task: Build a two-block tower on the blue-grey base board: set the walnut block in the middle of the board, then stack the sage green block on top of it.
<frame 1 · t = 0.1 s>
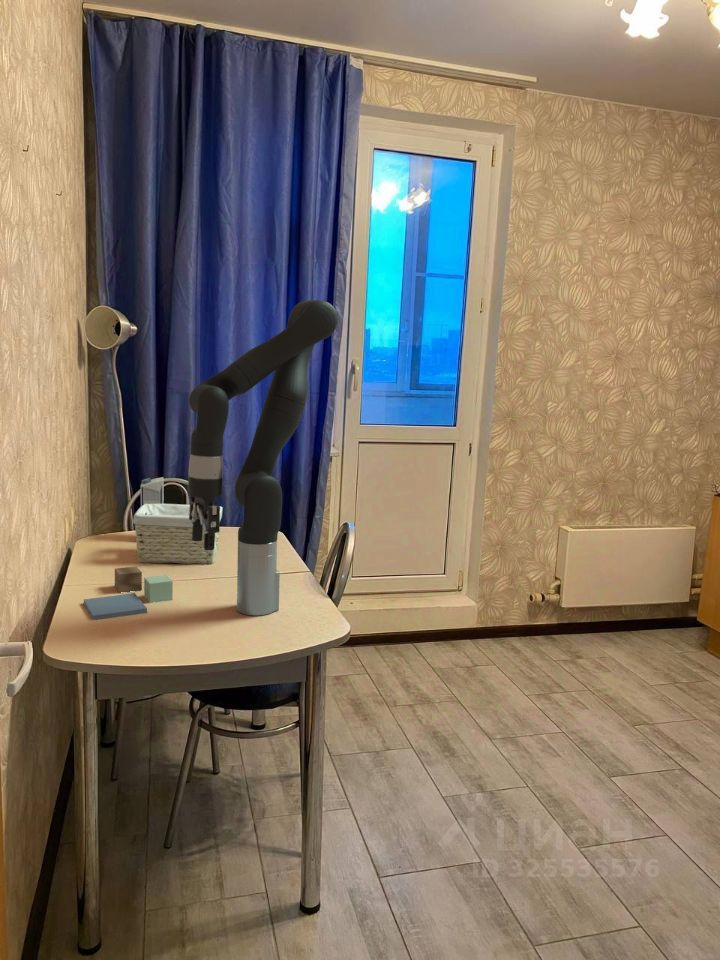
hand: (202, 545, 168), 17 cm above the table, tool pointing down, fingers open, 8 cm apart
storage basket: (179, 558, 218), on the table
walnut block: (128, 589, 188), on the table
base board: (115, 607, 174), on the table
sage green block: (158, 598, 182), on the table
milk carton: (152, 540, 237), on the table
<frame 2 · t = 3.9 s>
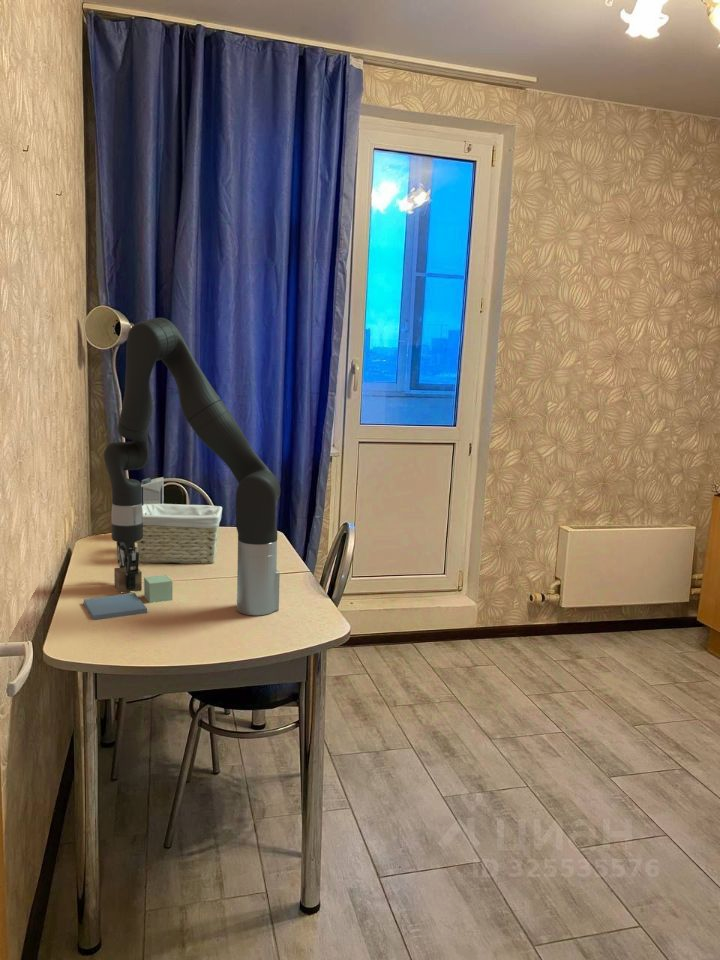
hand: (127, 585, 188), 1 cm above the table, tool pointing down, fingers closed on walnut block, 5 cm apart
walnut block: (128, 588, 188), on the table, touching gripper
everything else where it was.
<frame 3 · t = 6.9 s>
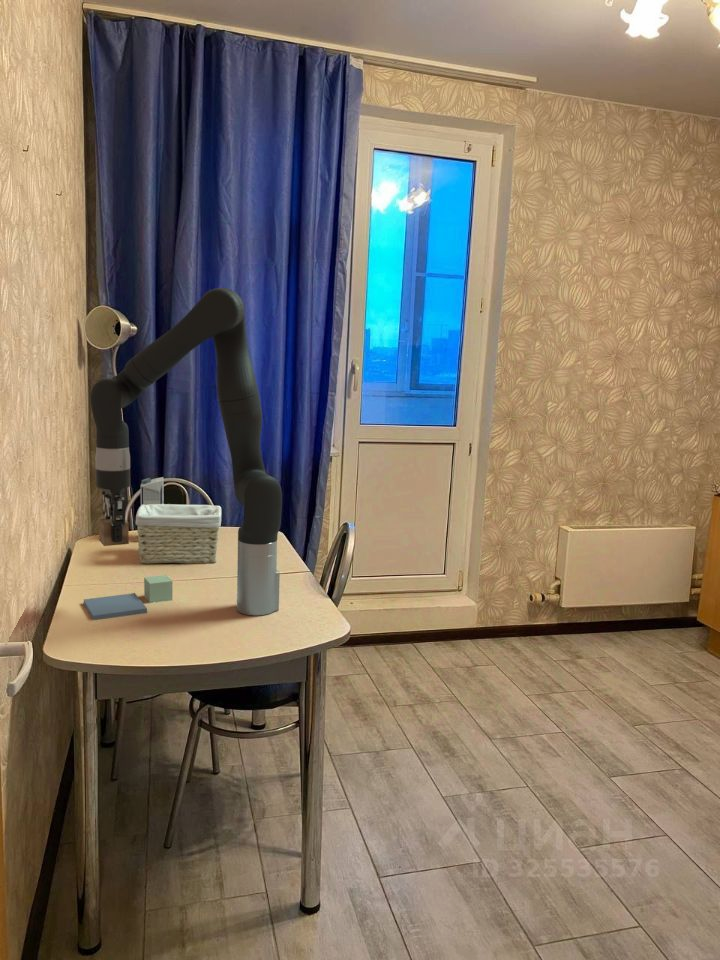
hand: (114, 538, 171), 17 cm above the table, tool pointing down, fingers closed on walnut block, 5 cm apart
walnut block: (113, 542, 172), point 16 cm above the table, touching gripper
when the fingers open (3 cm above the table, at t = 9.9 s): walnut block stays where it is, resting on base board.
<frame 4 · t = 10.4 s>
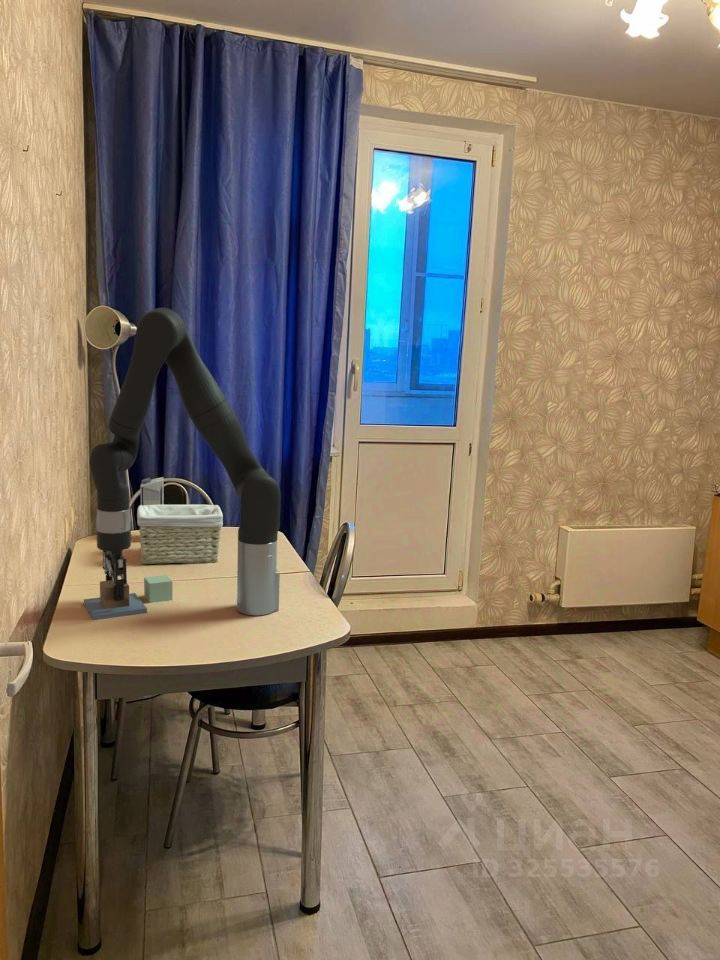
hand: (114, 594, 174), 3 cm above the table, tool pointing down, fingers open, 8 cm apart
walnut block: (114, 603, 174), point 1 cm above the table, touching base board
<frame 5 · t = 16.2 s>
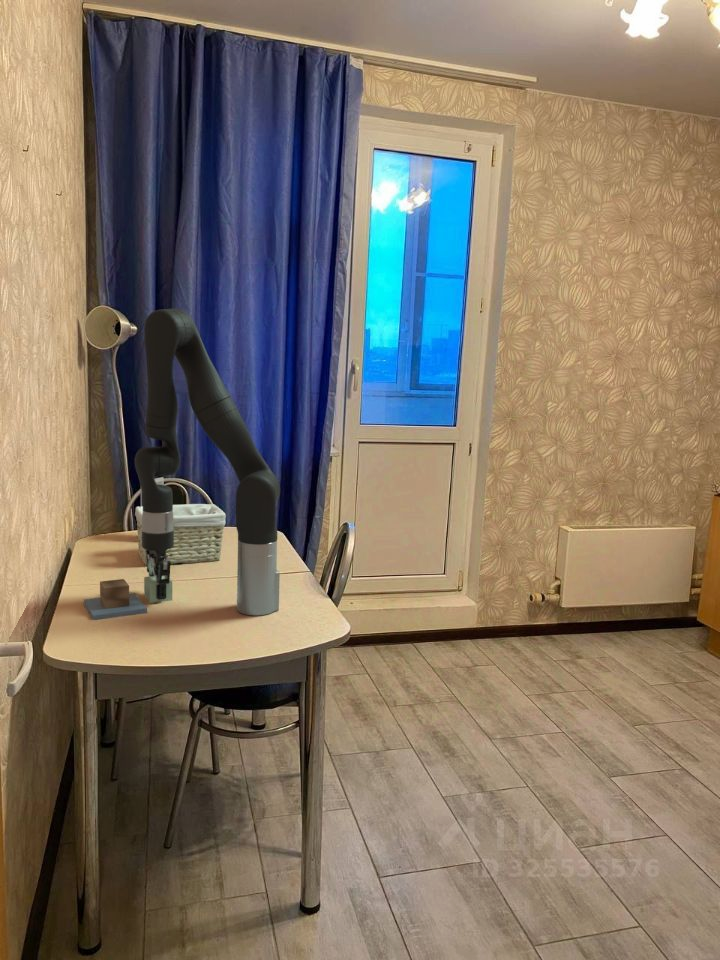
hand: (158, 594, 182), 1 cm above the table, tool pointing down, fingers closed on sage green block, 5 cm apart
sage green block: (158, 598, 182), on the table, touching gripper
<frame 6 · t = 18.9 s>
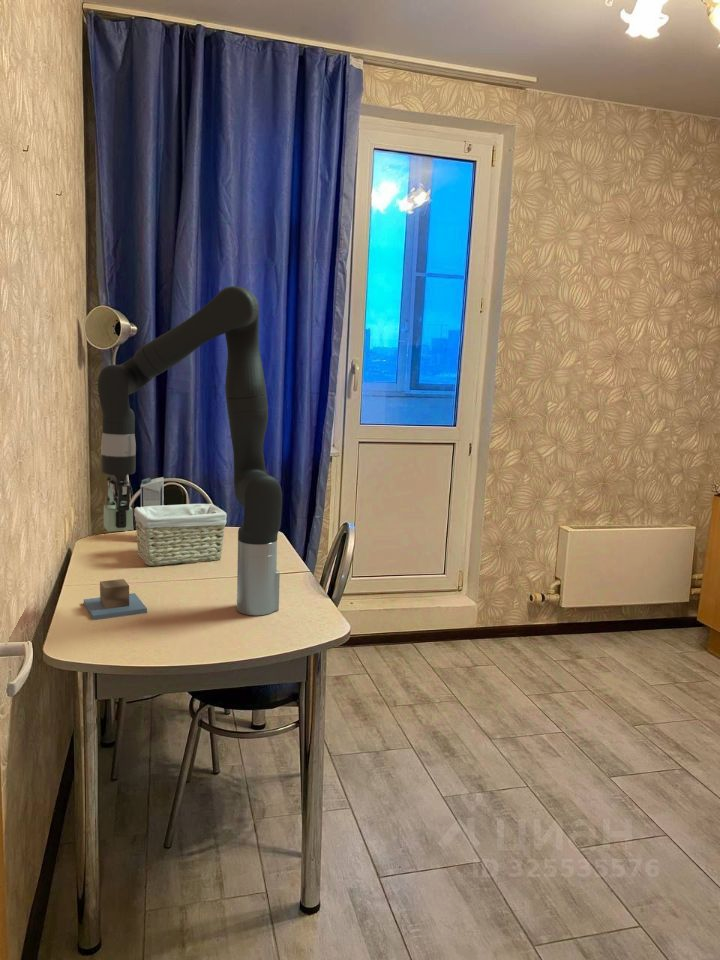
hand: (118, 524, 172), 20 cm above the table, tool pointing down, fingers closed on sage green block, 5 cm apart
sage green block: (118, 528, 172), point 19 cm above the table, touching gripper
when the fingers open (8 cm above the table, at t = 21.8 s): sage green block stays where it is, resting on walnut block.
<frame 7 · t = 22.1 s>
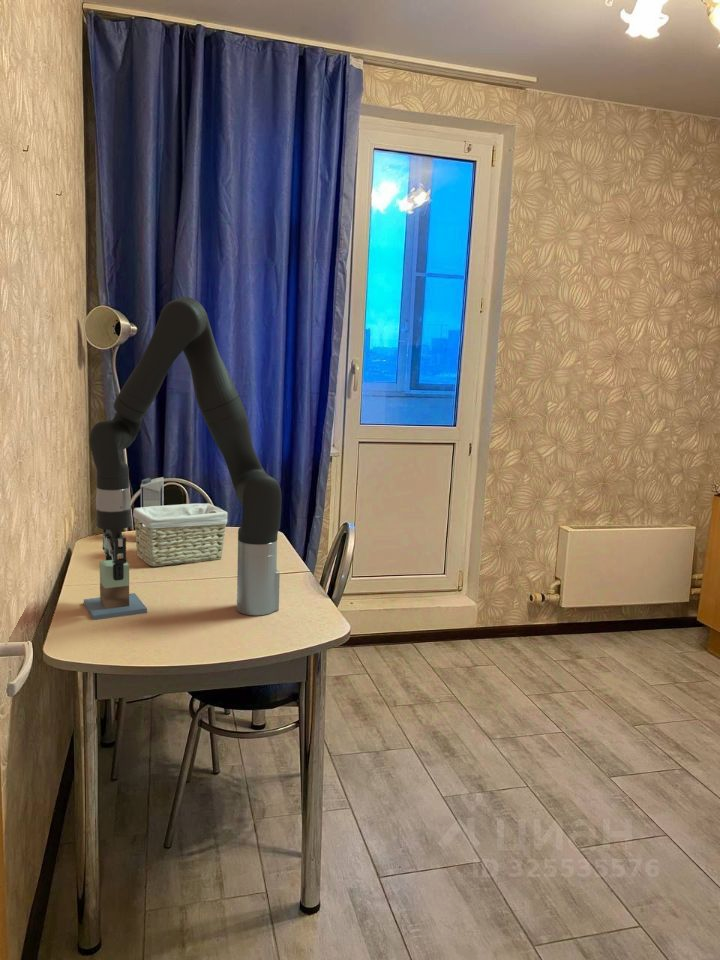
hand: (114, 574, 173), 8 cm above the table, tool pointing down, fingers open, 8 cm apart
walnut block: (114, 603, 174), point 1 cm above the table, touching base board, sage green block
sage green block: (114, 583, 173), point 6 cm above the table, touching walnut block
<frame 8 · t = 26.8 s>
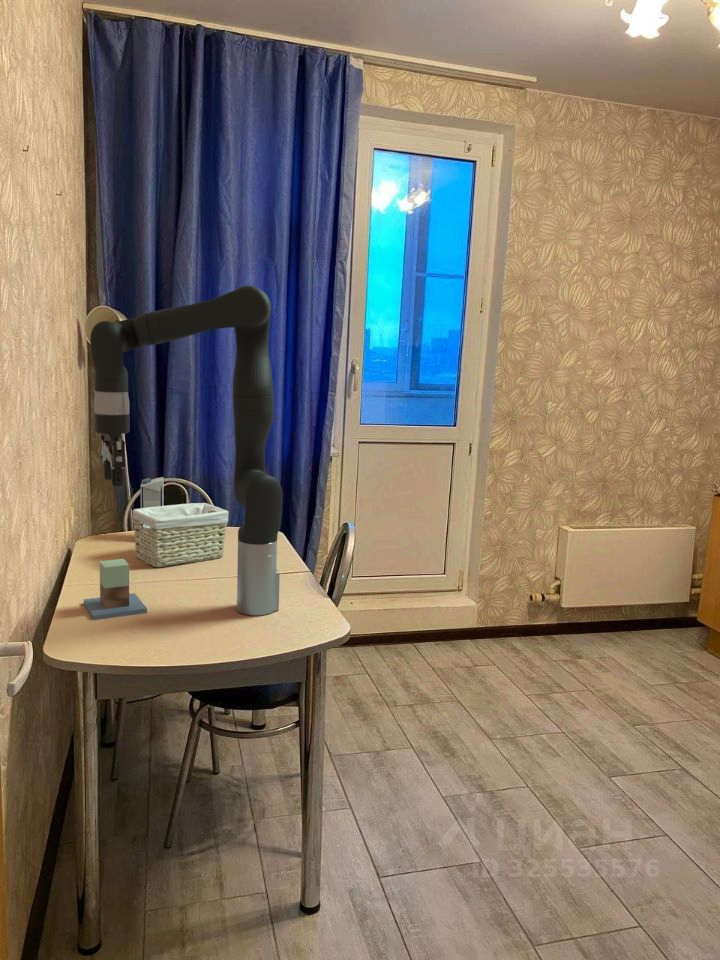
hand: (113, 482, 169), 30 cm above the table, tool pointing down, fingers open, 8 cm apart
at the end: walnut block 0.0 cm off-centre on the base board, point 1.0 cm above the base board's base; sage green block 0.0 cm off-centre on the walnut block, point 5.0 cm above the walnut block's base; sage green block tilted 0° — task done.
